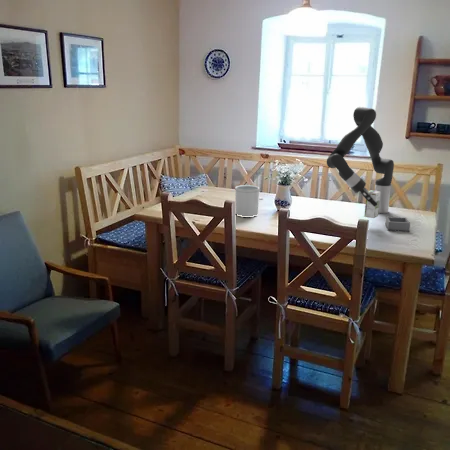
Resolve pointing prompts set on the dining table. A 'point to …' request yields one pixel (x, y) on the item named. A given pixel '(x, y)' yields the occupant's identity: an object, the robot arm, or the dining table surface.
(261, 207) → the dining table surface
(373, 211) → the syrup box
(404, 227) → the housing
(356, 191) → the robot arm
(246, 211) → the utensil holder
